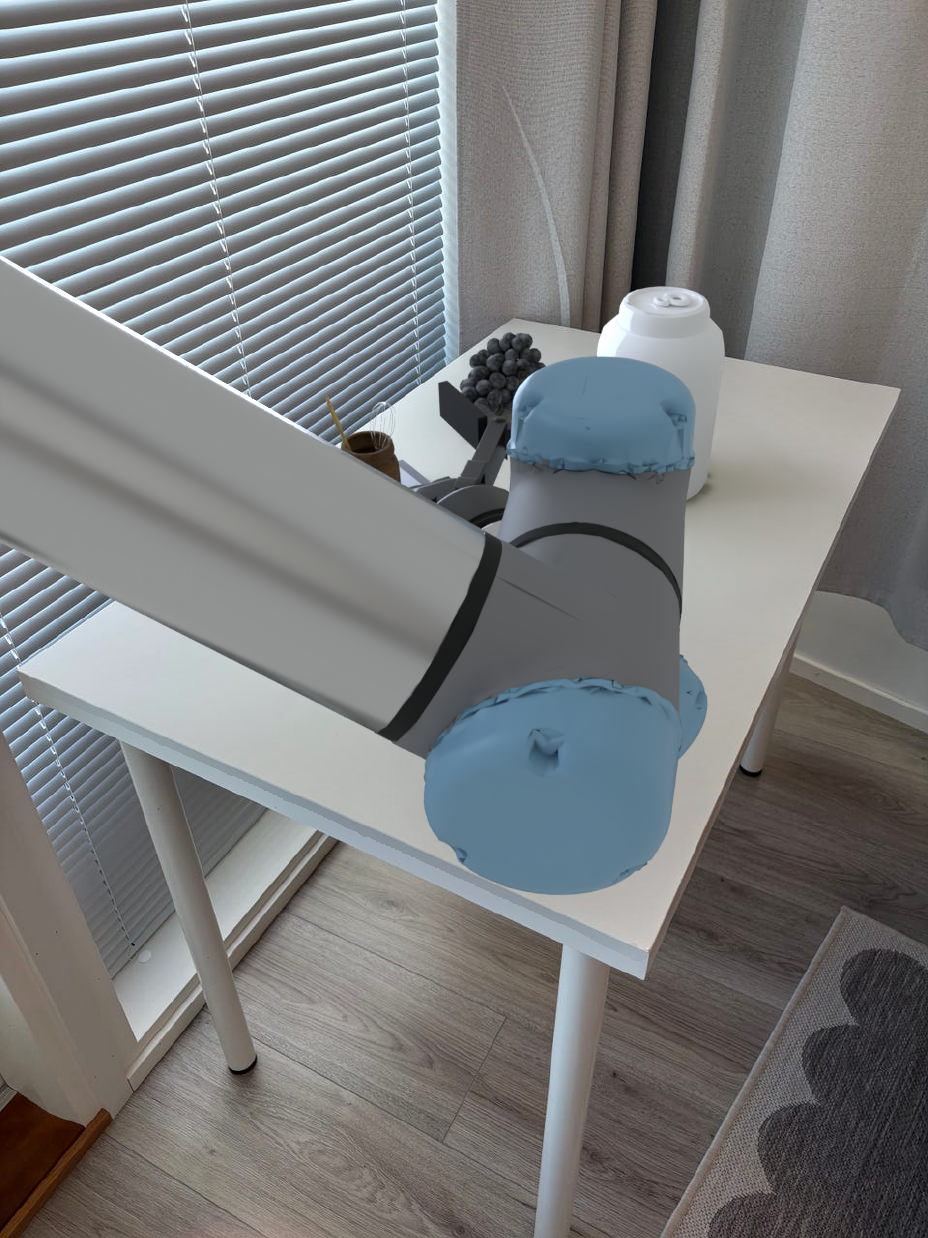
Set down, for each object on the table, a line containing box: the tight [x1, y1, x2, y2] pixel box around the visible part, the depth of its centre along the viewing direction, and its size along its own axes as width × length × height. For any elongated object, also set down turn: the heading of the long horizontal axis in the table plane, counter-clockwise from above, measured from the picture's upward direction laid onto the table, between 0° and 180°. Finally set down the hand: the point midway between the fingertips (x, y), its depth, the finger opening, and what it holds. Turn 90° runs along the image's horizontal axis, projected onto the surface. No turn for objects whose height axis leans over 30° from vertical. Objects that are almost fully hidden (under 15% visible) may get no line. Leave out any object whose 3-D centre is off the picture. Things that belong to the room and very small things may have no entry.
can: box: [596, 285, 726, 501], centre depth 97 cm, size 12×12×20 cm
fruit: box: [459, 331, 547, 416], centre depth 116 cm, size 9×8×15 cm
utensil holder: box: [325, 394, 401, 483], centre depth 92 cm, size 6×6×12 cm
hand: (359, 419), depth 69 cm, fingers open, 13 cm apart
